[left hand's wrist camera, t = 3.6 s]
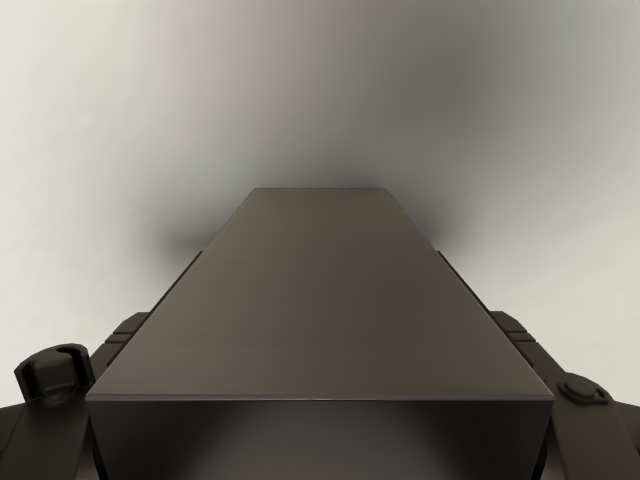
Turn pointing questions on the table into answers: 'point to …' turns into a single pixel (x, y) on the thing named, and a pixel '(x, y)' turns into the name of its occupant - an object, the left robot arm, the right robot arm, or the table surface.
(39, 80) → the table surface
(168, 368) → the box
